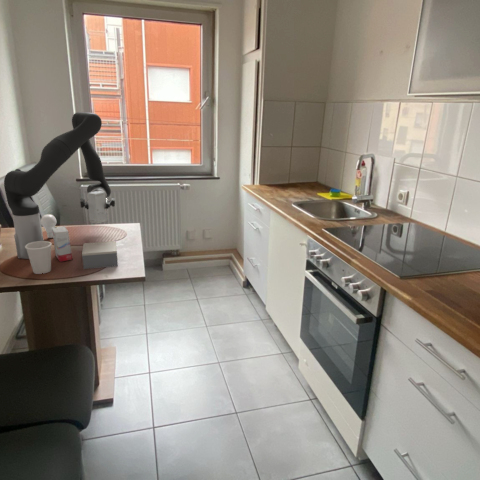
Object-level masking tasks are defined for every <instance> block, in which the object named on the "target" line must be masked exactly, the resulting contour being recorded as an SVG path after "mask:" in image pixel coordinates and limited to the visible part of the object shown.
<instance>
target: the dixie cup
mask: <svg viewBox="0 0 480 480" xmlns="http://www.w3.org/2000/svg"><path fill="white" fill-rule="evenodd" d="M52 245H53V244H52V242H50V241H48V240H44V241H37V242H32V243H29V244H27V245H26V246H25V248H26V250H27V253H28V256H29V259H28V260H29V262H30V265H31V269H32V272H33V274H35V275H36V274H37V275H41V274H42V273H43V274H46V273H49V272H51V271H52ZM43 274H42V275H43Z"/></svg>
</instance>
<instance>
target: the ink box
mask: <svg viewBox="0 0 480 480" xmlns="http://www.w3.org/2000/svg"><path fill="white" fill-rule="evenodd" d="M52 232H53V238H52V239H53V245H54V253H55V256H56V258H57V259H58V262H65V261H66V262H67V261H71V260H73V253H72V248H71V247H72V246H71V239H70V234H69V230H68V229H67V227H66V225H61V226H55V227H53V228H52Z"/></svg>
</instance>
